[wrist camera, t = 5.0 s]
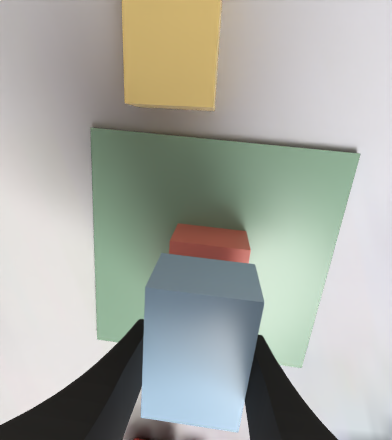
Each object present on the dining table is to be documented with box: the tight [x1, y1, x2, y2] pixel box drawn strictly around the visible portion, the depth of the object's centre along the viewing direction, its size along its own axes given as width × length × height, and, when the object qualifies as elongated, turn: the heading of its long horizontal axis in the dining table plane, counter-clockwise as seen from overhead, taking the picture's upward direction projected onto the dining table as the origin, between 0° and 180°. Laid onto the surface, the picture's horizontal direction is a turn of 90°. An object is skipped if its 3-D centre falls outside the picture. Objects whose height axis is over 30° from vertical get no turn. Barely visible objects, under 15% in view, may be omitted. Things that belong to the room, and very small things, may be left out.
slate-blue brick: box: [141, 253, 265, 432], centre depth 13 cm, size 4×7×3 cm, turn 175°
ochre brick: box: [122, 0, 222, 111], centre depth 14 cm, size 4×7×3 cm, turn 177°
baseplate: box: [91, 128, 360, 368], centre depth 19 cm, size 16×16×1 cm
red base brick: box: [169, 223, 251, 263], centre depth 18 cm, size 4×7×3 cm, turn 175°
